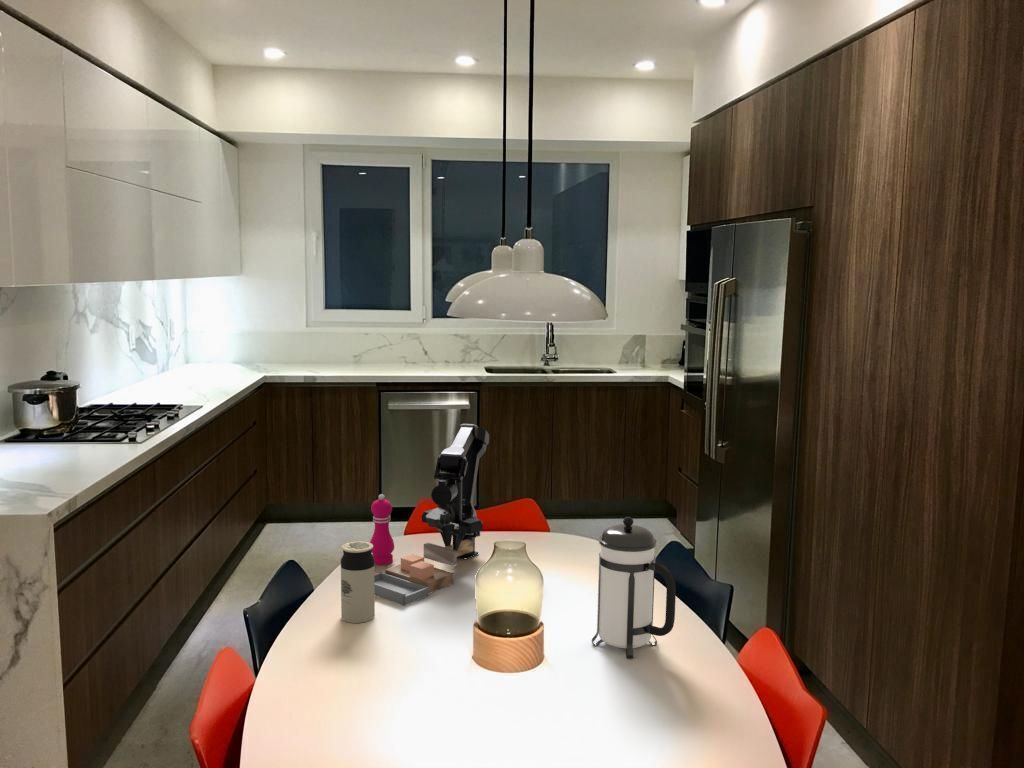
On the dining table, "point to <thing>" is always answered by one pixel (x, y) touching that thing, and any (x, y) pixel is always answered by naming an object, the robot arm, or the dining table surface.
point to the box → (398, 589)
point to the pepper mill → (382, 532)
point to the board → (433, 582)
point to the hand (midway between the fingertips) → (451, 550)
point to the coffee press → (630, 588)
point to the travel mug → (357, 582)
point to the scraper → (447, 552)
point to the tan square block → (410, 561)
